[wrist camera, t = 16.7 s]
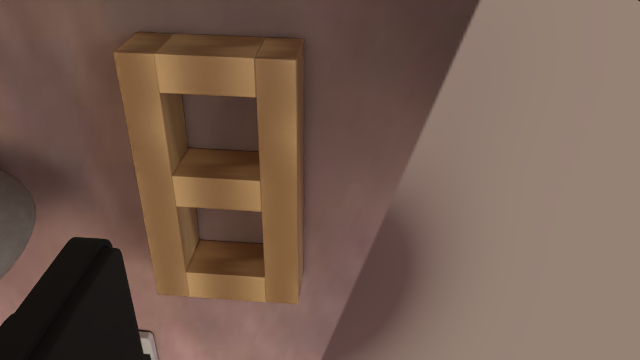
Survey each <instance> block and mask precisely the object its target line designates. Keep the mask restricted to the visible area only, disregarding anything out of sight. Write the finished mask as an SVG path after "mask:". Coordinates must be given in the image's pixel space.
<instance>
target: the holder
mask: <svg viewBox="0 0 640 360" xmlns="http://www.w3.org/2000/svg"><path fill="white" fill-rule="evenodd" d="M113 54H114V59H115V65H116V70H117V75H118V81H119V86H120V92H121V97H122V102H123V108H124V113H125V119H126V124H127V129H128V135H129V140H130V146H131V151H132V157H133V162H134V167H135V173H136V178H137V184H138V189H139V194H140V200H141V205H142V211H143V216H144V222H145V227H146V232H147V238H148V243H149V249H150V254H151V259H152V265H153V270H154V276H155V281H156V286H157V292H158V294H159V295H173V296H187V297H189V296H190V297H201V298H216V299H230V300H244V301H258V302H274V303H288V304H298V302H299V295H300V289H301V283H302V277H303V271H304V40H303V39H290V38H265V37H246V36H222V35H198V34H172V33H148V32H137V33H135V34H134V35H133V36H132V37H131V38H129V39H128V40H127V41H126V42H125V43H124V44H122V45H121V46H120V47H119V48H118V49H116V50H115V51H114V52H113ZM181 94H196V95H217V96H237V97H256V104H257V125H258V146H259V152H252V151H233V150H215V149H196V148H188V143H187V135H186V127H185V119H184V111H183V103H182V95H181ZM196 208H211V209H227V210H244V211H260V212H261V211H262V229H263V244H254V243H238V242H223V241H207V240H200V241H199V232H198V224H197V216H196Z"/></svg>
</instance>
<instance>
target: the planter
mask: <svg viewBox="0 0 640 360" xmlns="http://www.w3.org/2000/svg"><path fill="white" fill-rule="evenodd" d="M35 219H36V206H35V202H34V200H33V197H32V195H31V194H30V192H29V191H28V189H27V188H26V187H25V186H24V185H23V184H22V183H21V182H20V181H19V180H17V179H16V178H14V177H13V176H11V175H10V174H8V173H6V172H4V171H2V170H0V279H1V278H2V277H3V276H4V275H5V274H6V273H7V272H8V271H9V269H10V268H11V267H12V266H13V265H14V263H15V262H16V261H17V259H18V258H19V256H20V255H21V254H22V252H23V250H24V249H25V247H26V245H27V243H28V241H29V239H30V236H31V234H32V231H33V228H34V224H35Z"/></svg>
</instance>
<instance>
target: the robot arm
mask: <svg viewBox="0 0 640 360" xmlns="http://www.w3.org/2000/svg"><path fill="white" fill-rule="evenodd" d="M0 360H144V353H143V348H142V344H141V339H140V334H139V330H138V325H137V321H136V316H135V312H134V307H133V303H132V298H131V293H130V289H129V284H128V280H127V275H126V271H125V266H124V262H123V257H122V253H121V251H120V250H119V249H117V248H113V247H112V244H111V242H110V241H109V240H107V239H97V238H82V237H74V238H71V239H70V240H69V241H68V242H67V244H66V245H65V246H64V248H63V249H62V250H61V252H60V253H59V254H58V256H57V257H56V258H55V260H54V261H53V262H52V264H51V265H50V266H49V268H48V269H47V270H46V272H45V273H44V274H43V276H42V277H41V278H40V280H39V281H38V282H37V284H36V285H35V286H34V288H33V289H32V290H31V292H30V293H29V294H28V296H27V297H26V298H25V300H24V301H23V302H22V304H21V305H20V306H19V308H18V309H17V310H16V312H15V313H14V314H12V315H10V316H9V317H8V318H7V319H6V320H5V321H4V322H3V324H2V325H1V326H0Z"/></svg>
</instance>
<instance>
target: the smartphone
mask: <svg viewBox="0 0 640 360" xmlns="http://www.w3.org/2000/svg"><path fill="white" fill-rule="evenodd" d="M139 334H140V339H141V344H142V348H143V353H144V360H158V357H157V352H156V347H155V342H154V338H153V335H152V334H151V333H150V332H141V331H139Z"/></svg>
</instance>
